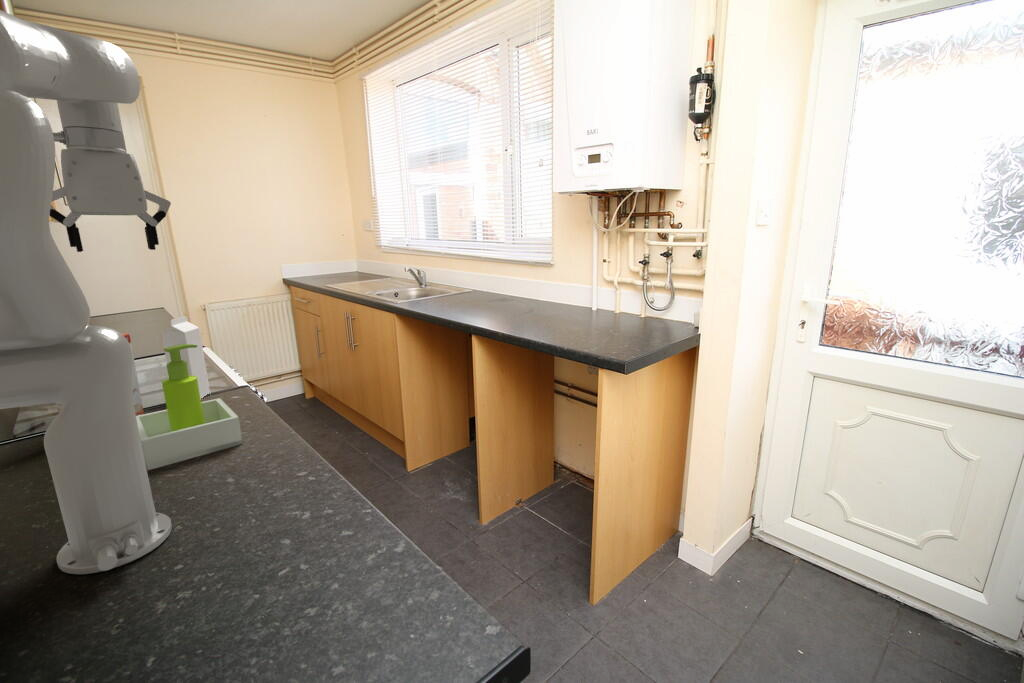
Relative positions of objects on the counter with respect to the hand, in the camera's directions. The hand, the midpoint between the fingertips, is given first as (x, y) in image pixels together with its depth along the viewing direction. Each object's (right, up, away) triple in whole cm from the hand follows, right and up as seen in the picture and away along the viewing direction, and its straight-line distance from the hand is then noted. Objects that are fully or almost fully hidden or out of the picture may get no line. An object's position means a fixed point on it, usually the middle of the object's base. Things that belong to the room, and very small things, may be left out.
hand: (117, 250), depth 81 cm
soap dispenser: (+1, -36, +19) cm, 41 cm away
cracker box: (-24, -36, +27) cm, 51 cm away
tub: (0, -37, +18) cm, 41 cm away
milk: (-17, -31, +45) cm, 57 cm away
